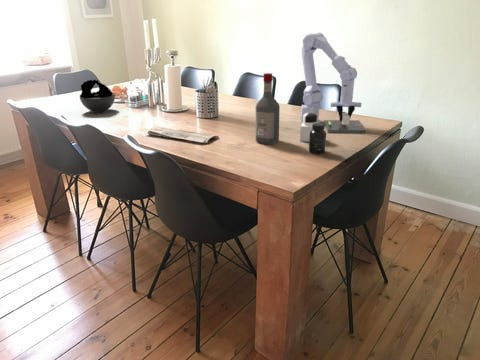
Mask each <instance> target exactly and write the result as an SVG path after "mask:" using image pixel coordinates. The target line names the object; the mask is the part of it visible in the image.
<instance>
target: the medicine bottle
mask: <svg viewBox="0 0 480 360" xmlns="http://www.w3.org/2000/svg"><path fill="white" fill-rule="evenodd" d="M314 123H317V115H316V114H314V113H306V114H304V115H303V123H301V125H300V126H299V127H300V128H299V132H300V133H299V141H300V142H304V143H305V142H307V143H309V135H310V131H311V130H313V129H312V125H313V124H314Z"/></svg>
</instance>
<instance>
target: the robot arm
mask: <svg viewBox="0 0 480 360" xmlns="http://www.w3.org/2000/svg"><path fill="white" fill-rule="evenodd" d="M317 49H319V50H322V51H323V53H324V54H325V55H326V56H327V57H328V58H329V59H330V60H331V65H332V66H333V68H334V69H335V70H336V71H337V72H338V74H339V78H340V80H341V87H340V88H341V89H340V90H341V91H340V98H339V99H340V100H339V101H335V102H333V101H332V102H330V108H336V109H337V113H338V117H339V120H340V122H342V112H344V108H347V113H348V115H349V116H350V119H349V120H351V116H353V113H354V112H355V111H356V110H355V109H356V108H362V102H360V101H359V102H358V101H356V102H355V101H353V97H354V89H355V79H357V76H358V71H357V69H356V68H355V67H352V66H351V64H349V63H348V62H347V61H346V60H345V59H346V58H345V56H342V55H338V54H337V53H336V51H335V49H334V48H333V46H331V44H330V43H329V41H328V39H327V37H326V36H325V35H324V34H323V33H322V32H316V33H307V34H306V35H305V36H304V37H303V39H302V48H301V58H302V66H303V71H304V72H303V73H304V80H305V86H306V87H305V88H304V90H303V97H302V102H303V103H304V104H301V108H300V109H301V110H300V123H301V124H303V115H304V114H306V113H314V114H316V115H317V123H321V122H320V118H319V116H320V104H321V102H323V101H322V100H323V98H324V96H323V93H322V92H321V87H320V86H318V84H317V76H316V69H315V60H314V54H315V52H316V51H317Z"/></svg>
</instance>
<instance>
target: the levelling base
mask: <svg viewBox="0 0 480 360" xmlns="http://www.w3.org/2000/svg"><path fill="white" fill-rule="evenodd" d="M323 124H324V129H326V130H325V131H326V133H327V134H367V129H366V128H365V126H364V125H363V124H362V123H361V122H360V120H359V119H358V120H355V119H354V120H352V119H350V120H349V124H347V125H342V122H340V119H339V120H337V119H336V120H334V119H331V120H329V119H328V120H326V119H325V120H324V119H323Z"/></svg>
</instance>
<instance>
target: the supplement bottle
mask: <svg viewBox="0 0 480 360" xmlns="http://www.w3.org/2000/svg"><path fill="white" fill-rule="evenodd" d="M312 129H313V130H311V131H310V135H309V142H308V152H309V153H310V154H312V155H323V154H325V153H326V147H327V146H326V145H327V130H325V125H324V122H320V123H314V124H313V125H312Z"/></svg>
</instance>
